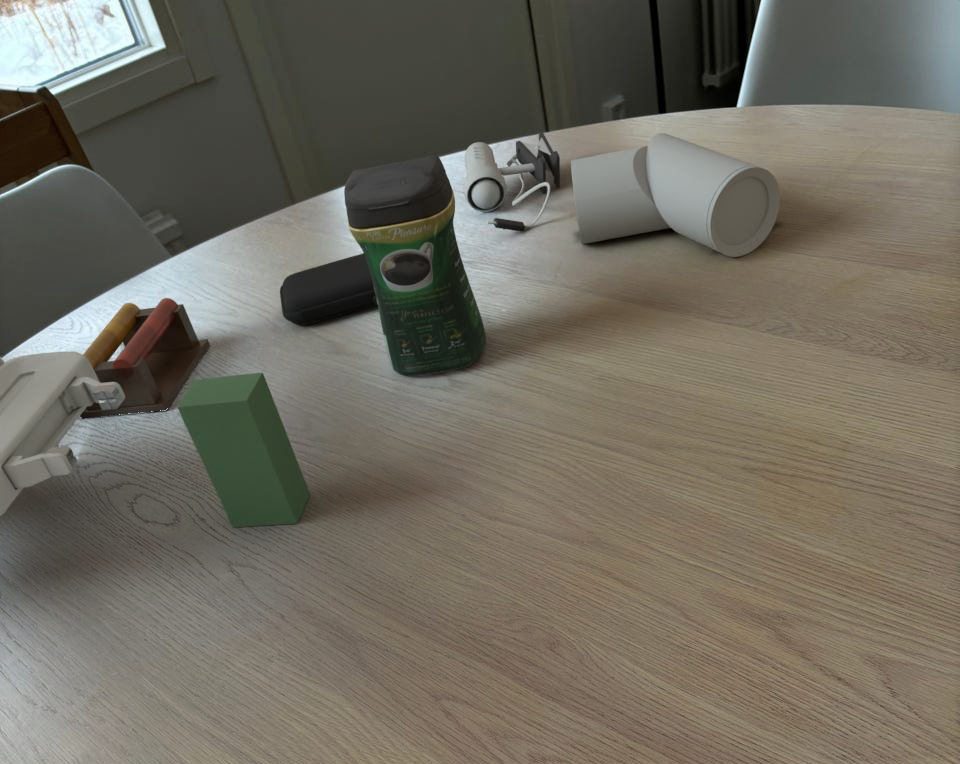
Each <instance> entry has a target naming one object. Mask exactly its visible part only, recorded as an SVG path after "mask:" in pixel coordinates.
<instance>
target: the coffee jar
mask: <svg viewBox="0 0 960 764" xmlns="http://www.w3.org/2000/svg"><path fill="white" fill-rule="evenodd" d="M451 184H452V183H451V182H450V180H449V177H448V175H447V170H446V169H445V166H444V164H443V162H442V160H441V157H439V156H438V155H436V154H432V155H428V156H424V157H419V158H414V159H409V160H403V161H398V162H392V163H387V164H386V163H385V164H382V165H377V166H372V167H367V168H359V169H354V170H353V171H352V172H351V173H350V175H349V177H348V179H347V181H346V182H345V186H344V189H343V190H344V191H343V192H344V193H343V195H344V205H345V208H346V216H347V222H348V228H349V231H350V233H351V236H352V238H353V239H354V240H355V241H356V243H357V244H358V245H359V247H360V249H361V251H362V252H363V253H364V255H365V258H366V261H367V264H368V267H369V270H370V274H371V277H372V281H373V285H374V289H375V294H376V299H377V308H378V314H379V318H380V319H379V320H380V324H381V329H382V334H383V339H384V344H385V348H386V353H387V357H388V361H389V365H390V367H391V369H392V370H393V371H394V372H396V373H397V374H399V375H401V376H409V377H411V376H423V375H432V374H439V373H444V372H449V371H456V370H460V369H463V368H466V367H469V366H470V365H472V364H473V363H475V362H476V360H478V359H479V358H480V357H481V356H482V354H483V353H484V351H485V347H486V342H487V334H486V329H485V324H484V322H483V318H482V315H481V312H480V309H479V306H478V303H477V300H476V298H475V295H474V292H473V290H472V286H471V284H470V281H469V277H468V275H467V272H466V269H465V266H464V263H463V259H462V256H461V253H460V252H461V251H460V250H459V249H460V248H459V245H458V241H457V236H456V231H455V226H454V218H455V214H456V213H455V212H456V197H455V192H454V190H453V187H452V185H451ZM363 253H362V254H363Z"/></svg>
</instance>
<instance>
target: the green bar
mask: <svg viewBox="0 0 960 764" xmlns="http://www.w3.org/2000/svg"><path fill="white" fill-rule="evenodd" d="M176 407H177V411H178V412H179V414H180V417H181V419H182V421H183V423H184V425H185V427H186V430H187V432H188V434H189V436H190V439H191V441H192V443H193V445H194V447H195V449H196V451H197V454H198V455H199V458H200V460H201V462H202V464H203V466H204V469H205V471H206V473H207V475H208V477H209V480H210V481H211V484H212V486H213V488H214V491H215V492H216V494H217V496H218V497H217V498H218V499H219V501H220V503H221V505H222V507H223V509H224V512H225V514H226V517H227V518H228V520H229V523H230V525H231V527H232V528H245V527H246V528H247V527H249V528H250V527H262V526H278V525H279V526H280V525H296V524H298V523H299V521H300V518H301V517H302V514H303V512H304V510H305V507H306V505H307V503H308V501H309V499H310V497H311V493H310V490H309V488H308V485H307V482H306V480H305V477H304V475H303V472H302V469H301V466H300V464H299V462H298V460H297V457H296V454H295V452H294V450H293V446H292V444H291V441H290V439H289V436H288V434H287V431H286V428H285V426H284V423H283V421H282V418H281V415H280V413H279V410H278V407H277V405H276V403H275V400H274V398H273V395H272V393H271V389H270V387H269V385H268V382H267V380H266V377H265V374H264V372H254V373H245V374H237V375H236V374H235V375H234V374H233V375H225V376H215V377H205V378H196V379H194V380H193V381H192V383H191V384H190V386H189V388H188V389H187V391H186V392H185V394H184V395H183V397H182V398H181V400H180V402H178V405H176Z"/></svg>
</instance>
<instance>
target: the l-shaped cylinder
mask: <svg viewBox="0 0 960 764" xmlns="http://www.w3.org/2000/svg"><path fill="white" fill-rule="evenodd" d="M570 171H571V172H570V173H571V179H572V189H573V195H574V204H575V212H576V219H577V226H578V233H579V239H580V244H581V245H585V244H591V243H596V242H601V241H607V240H612V239H618V238H623V237H629V236H635V235H639V234H645V233H650V232H656V231H662V230H668V229H672V230H673V231H674V232H676V233H677V234H679V235H681V236H684V237H686V238H687V239H690V240H692V241H693V242H696V243H698V244H701V245H702V246H704V247H707V248H709V249H711V250H713V251H715V252H718V253H720V254H721V255H724V256H726V257H730V258H731V257H732V258H738V257H743V256H745V255H748V254H750V253H751V252H753V251H755V250H756V249H757V248H758V247H759V246H761V244H762V243H764V241H765V240H766V238H767V237H768V236H769V234H770V233H771V232H772V230H773V228H774V226H775V223H776V221H777V218H778V215H779V211H780V204H781V192H780V186H779V183H778V180H777V178H776V177H775V175H774V174H773V173H772V172H771V171H769V170H768V169H766V168H764V167H761V166H759V165H755V164H753V163H749V162H747V161H745V160H741V159H738V158H736V157H733V156H730V155H727V154H724V153H722V152H719V151H716V150H713V149H710V148H708V147H705V146H702V145H699V144H696V143H693V142H692V141H691V142H690V141H688V140H685V139H682V138H679V137H676V136H673V135H671V134H669V133H664V132H660V133H657V134H655V135H653V136H652V137H651V139H650V140H649V141H648V144H647V145H643V146H638V147H632V148H628V149H623V150H618V151H612V152H608V153H607V152H606V153H602V154H597V155H592V156H587V157H582V158H578V159H577V158H575V159H571V160H570Z"/></svg>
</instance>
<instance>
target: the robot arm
mask: <svg viewBox="0 0 960 764" xmlns="http://www.w3.org/2000/svg"><path fill="white" fill-rule="evenodd" d="M124 399H125V394H124V392H123V390H122V388H121V386H120V385H119V384H118V383H117V382H106V383H100V381H99V379H98V377H97V375H96V373H95V371H94V369H93V367H92V366H91V364H90V362H89V360H88V359H87V357H85V356H84V355H83V353H80V352H78V351H55V352H54V351H53V352H42V353H41V352H40V353H32V354H25V355H19V356H17V357H13V358H11V359H8V360H7V361H4V360H3V358H2V357H1V356H0V517H1V516H2V515H4V514H5V513H6V511H7V510H8V509H9V507H10V506H11V505H12V504H13V502H14V501H15V500H16V499H17V497H18V496H19V495H20V494H21V492H22V491H23V489H25V488H31V487H32V486H35V485H37V484H39V483H42V482H44V481H46V480H49V479H50V478H52V477H57V476H58V477H59V476H67V475H69V474H71V472H72V470H73V469H74V468H75V467H76V465H78V464H77V463H78V458H77V456H75V455H74V451H73V450H72V448H71V447H70V446H67V445H61V446H58V445H59V443H60V442H61V441H62V439H64V437H65V436H66V434H67V433H68V432H69V430H70V429H71V428H72V427H73V425H74V424H75V423H76V421H77V420H78V419H79V418H80V415H81V414H82V412H83V411H84V410H85V408H86V407H87V406H92V404H93V402H95V403H99V405H100V407H101V409H102V410H109V409H117V408H118V407H119V405H120V404H121V403H122V402H123V400H124Z"/></svg>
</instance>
